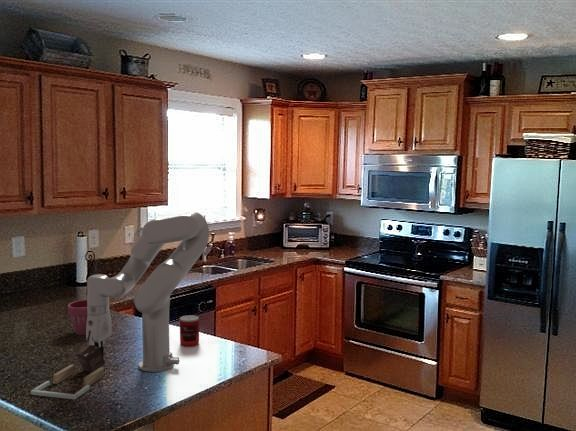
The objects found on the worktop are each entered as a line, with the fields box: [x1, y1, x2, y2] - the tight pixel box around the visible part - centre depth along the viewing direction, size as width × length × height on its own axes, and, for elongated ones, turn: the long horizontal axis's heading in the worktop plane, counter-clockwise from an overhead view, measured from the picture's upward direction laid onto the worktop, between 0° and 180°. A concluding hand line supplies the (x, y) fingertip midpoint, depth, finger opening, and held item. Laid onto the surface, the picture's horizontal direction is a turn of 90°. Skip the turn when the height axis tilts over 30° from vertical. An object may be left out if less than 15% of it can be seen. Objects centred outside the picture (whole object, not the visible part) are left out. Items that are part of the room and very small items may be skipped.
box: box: [76, 344, 106, 374], centre depth 203 cm, size 6×6×7 cm
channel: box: [52, 364, 105, 388], centre depth 195 cm, size 13×10×3 cm
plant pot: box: [67, 299, 88, 336], centre depth 248 cm, size 14×14×13 cm
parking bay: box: [30, 380, 91, 400], centre depth 185 cm, size 16×8×1 cm, turn 77°
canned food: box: [179, 314, 200, 348], centre depth 233 cm, size 8×8×11 cm
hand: (98, 357), depth 209 cm, fingers closed
